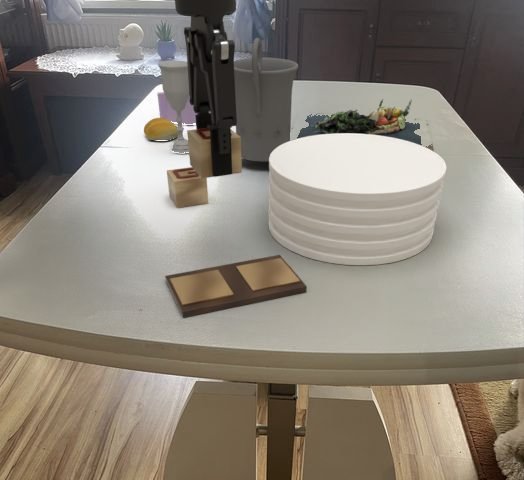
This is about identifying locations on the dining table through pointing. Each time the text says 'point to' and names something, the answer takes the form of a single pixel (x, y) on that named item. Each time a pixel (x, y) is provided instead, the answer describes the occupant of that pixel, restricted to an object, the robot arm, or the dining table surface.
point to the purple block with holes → (171, 114)
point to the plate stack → (354, 197)
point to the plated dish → (365, 124)
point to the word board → (233, 285)
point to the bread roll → (160, 129)
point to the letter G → (187, 187)
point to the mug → (263, 103)
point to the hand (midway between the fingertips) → (215, 166)
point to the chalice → (176, 95)
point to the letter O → (202, 152)
